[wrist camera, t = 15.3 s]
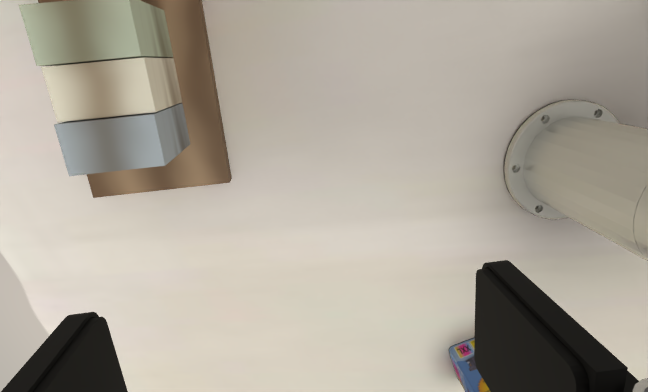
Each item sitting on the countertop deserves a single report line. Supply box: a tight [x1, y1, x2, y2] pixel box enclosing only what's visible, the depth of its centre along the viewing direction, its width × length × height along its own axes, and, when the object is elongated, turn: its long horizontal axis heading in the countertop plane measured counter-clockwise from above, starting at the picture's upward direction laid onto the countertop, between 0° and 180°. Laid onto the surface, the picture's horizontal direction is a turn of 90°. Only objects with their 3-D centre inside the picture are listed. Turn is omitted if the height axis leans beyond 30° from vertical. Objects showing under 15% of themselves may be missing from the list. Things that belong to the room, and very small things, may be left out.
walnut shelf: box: [19, 0, 232, 198], centre depth 33 cm, size 13×24×10 cm, turn 5°
